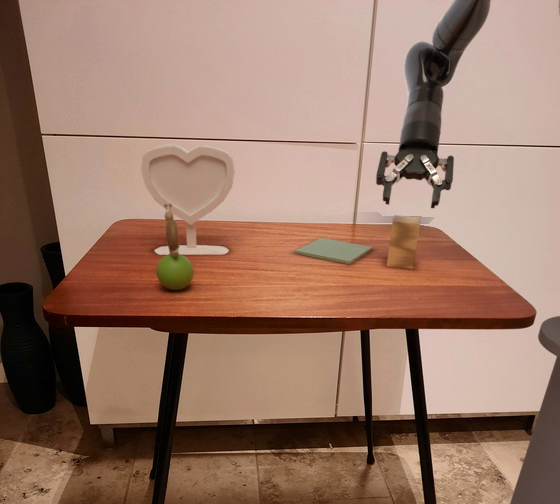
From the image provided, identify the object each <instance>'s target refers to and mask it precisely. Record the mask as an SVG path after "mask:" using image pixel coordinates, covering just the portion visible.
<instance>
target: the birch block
mask: <svg viewBox="0 0 560 504" xmlns="http://www.w3.org/2000/svg"><path fill="white" fill-rule="evenodd" d="M421 220H422V218H421V217H419V216H409V215H408V216H407V215H398V214H397V215H396V214H394V215H393V219H392V223H391V230H390V238H389V245H388V251H387V252H388V253H387V260H386V267H387V268H395V269H405V270H414V265H415V260H416V253H417V248H418V241H419V234H420V228H421Z"/></svg>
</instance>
